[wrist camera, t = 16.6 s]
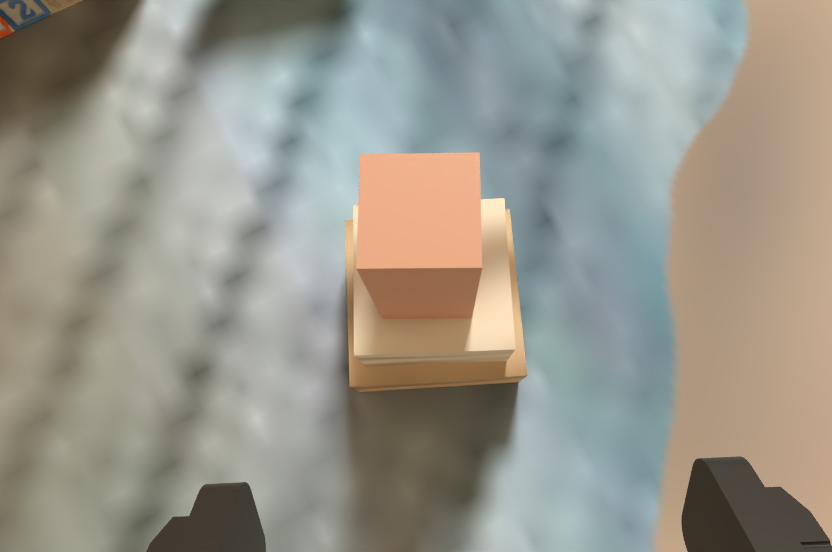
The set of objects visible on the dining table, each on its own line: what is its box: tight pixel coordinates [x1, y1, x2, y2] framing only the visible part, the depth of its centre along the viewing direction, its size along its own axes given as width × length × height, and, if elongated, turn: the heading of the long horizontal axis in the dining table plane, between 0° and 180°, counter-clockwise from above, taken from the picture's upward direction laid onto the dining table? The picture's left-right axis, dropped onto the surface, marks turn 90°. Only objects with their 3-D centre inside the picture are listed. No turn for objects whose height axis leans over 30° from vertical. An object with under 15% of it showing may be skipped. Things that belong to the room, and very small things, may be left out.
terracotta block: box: [356, 152, 482, 319], centre depth 26 cm, size 4×4×9 cm
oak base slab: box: [345, 209, 527, 392], centre depth 37 cm, size 10×10×4 cm
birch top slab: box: [353, 198, 516, 366], centre depth 33 cm, size 8×8×4 cm
